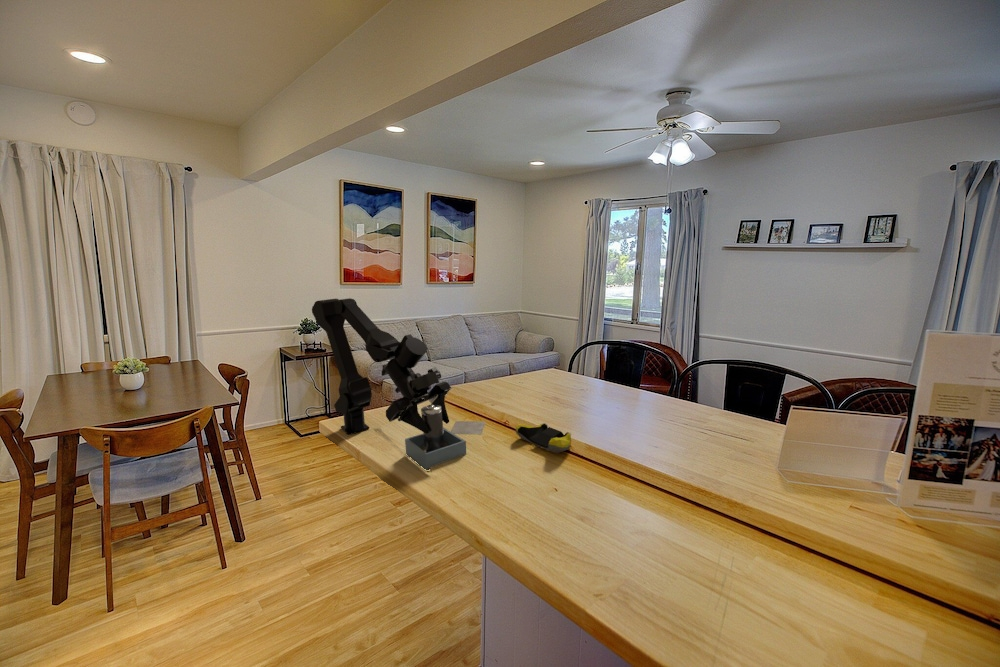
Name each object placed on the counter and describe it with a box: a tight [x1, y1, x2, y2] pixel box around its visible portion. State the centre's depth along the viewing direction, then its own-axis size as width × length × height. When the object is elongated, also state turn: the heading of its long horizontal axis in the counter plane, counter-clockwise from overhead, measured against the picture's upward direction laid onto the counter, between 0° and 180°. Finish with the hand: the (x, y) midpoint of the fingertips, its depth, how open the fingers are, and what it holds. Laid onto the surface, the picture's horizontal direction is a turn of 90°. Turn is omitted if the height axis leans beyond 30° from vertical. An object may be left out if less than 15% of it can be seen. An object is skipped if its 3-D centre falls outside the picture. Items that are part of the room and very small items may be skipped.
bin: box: [404, 427, 467, 470], centre depth 111 cm, size 11×11×4 cm
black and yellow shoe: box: [515, 423, 572, 454], centre depth 115 cm, size 15×6×10 cm
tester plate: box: [450, 420, 487, 435], centre depth 127 cm, size 9×9×1 cm
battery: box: [420, 404, 446, 453], centre depth 111 cm, size 5×5×13 cm
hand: (438, 427), depth 109 cm, fingers open, 7 cm apart
